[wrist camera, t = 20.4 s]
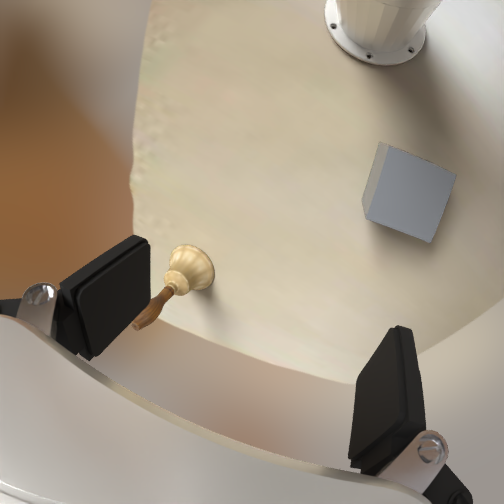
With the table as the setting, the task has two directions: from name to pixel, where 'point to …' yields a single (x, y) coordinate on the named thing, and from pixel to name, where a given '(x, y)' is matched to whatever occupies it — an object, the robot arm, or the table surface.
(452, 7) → the table surface
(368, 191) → the grey cube
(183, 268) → the hand bell
